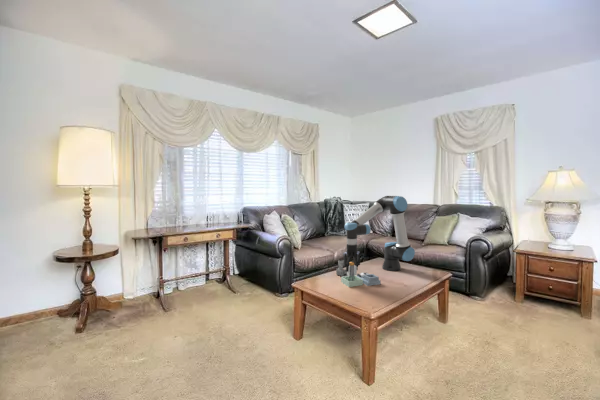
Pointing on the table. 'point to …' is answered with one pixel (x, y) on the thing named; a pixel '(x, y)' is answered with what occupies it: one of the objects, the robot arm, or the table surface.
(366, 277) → the block
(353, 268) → the orange and grey cylinder
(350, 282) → the tray
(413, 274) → the table surface
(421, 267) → the table surface
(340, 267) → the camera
